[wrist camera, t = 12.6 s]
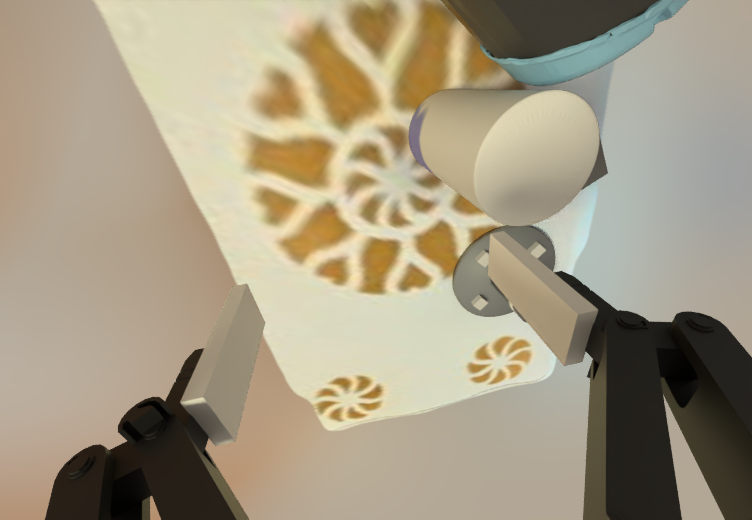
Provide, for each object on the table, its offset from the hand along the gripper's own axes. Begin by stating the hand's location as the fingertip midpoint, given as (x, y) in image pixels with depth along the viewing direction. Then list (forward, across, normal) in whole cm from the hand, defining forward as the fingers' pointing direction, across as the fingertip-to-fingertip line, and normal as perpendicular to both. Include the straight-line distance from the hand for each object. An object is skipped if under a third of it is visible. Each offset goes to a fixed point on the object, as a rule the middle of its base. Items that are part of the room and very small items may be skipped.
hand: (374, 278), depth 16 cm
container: (+28, +14, +1) cm, 31 cm away
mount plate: (+28, +23, -23) cm, 43 cm away
